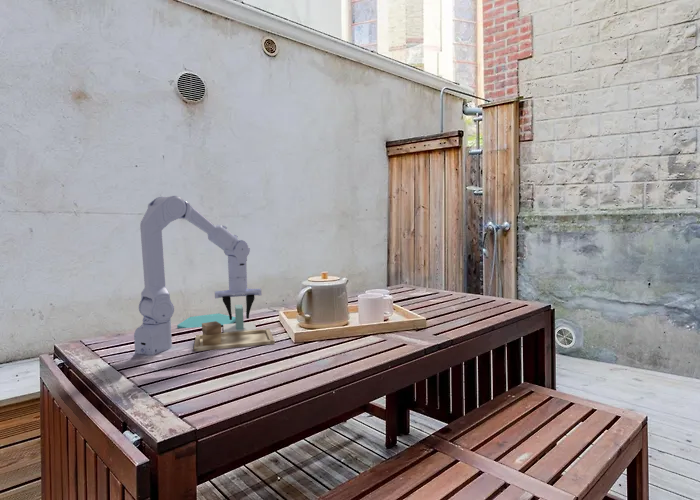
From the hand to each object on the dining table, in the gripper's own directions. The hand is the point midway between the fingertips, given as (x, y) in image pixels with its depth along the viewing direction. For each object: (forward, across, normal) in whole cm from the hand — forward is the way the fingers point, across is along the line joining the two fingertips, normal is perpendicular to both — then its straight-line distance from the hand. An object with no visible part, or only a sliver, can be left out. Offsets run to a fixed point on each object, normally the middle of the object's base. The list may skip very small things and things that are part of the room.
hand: (239, 318), depth 142 cm
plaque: (+5, -10, +15) cm, 19 cm away
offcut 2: (+3, -8, -12) cm, 15 cm away
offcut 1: (0, -8, -12) cm, 15 cm away
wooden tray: (+5, -2, -12) cm, 14 cm away
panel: (+3, 0, 0) cm, 3 cm away
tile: (+5, 0, 0) cm, 5 cm away
